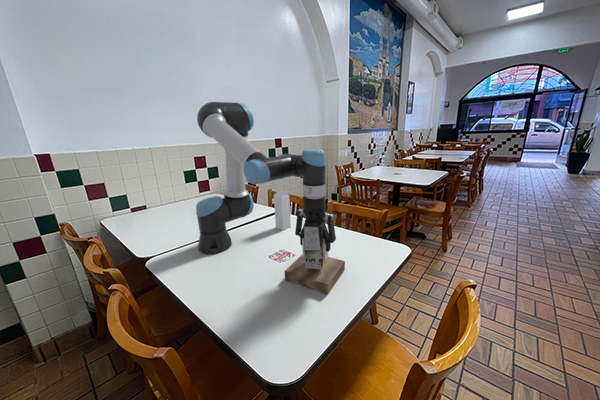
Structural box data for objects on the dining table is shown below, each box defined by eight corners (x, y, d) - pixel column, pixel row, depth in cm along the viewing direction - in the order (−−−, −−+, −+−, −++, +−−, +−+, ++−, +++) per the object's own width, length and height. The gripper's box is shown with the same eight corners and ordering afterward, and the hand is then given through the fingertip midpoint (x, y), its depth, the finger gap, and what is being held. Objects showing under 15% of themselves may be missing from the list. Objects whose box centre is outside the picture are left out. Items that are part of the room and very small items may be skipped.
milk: (283, 230, 131) (280, 191, 124) (275, 228, 135) (272, 189, 128) (291, 227, 135) (289, 189, 129) (283, 224, 139) (281, 187, 133)
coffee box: (322, 270, 85) (322, 227, 80) (304, 268, 86) (303, 226, 81) (325, 256, 93) (325, 217, 88) (308, 255, 94) (307, 216, 90)
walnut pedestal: (285, 280, 89) (284, 270, 88) (306, 259, 102) (305, 251, 101) (327, 294, 80) (327, 284, 79) (344, 270, 94) (344, 261, 92)
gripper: (282, 195, 84) (286, 254, 91) (338, 202, 74) (337, 268, 81) (294, 190, 90) (296, 245, 97) (347, 196, 80) (345, 257, 87)
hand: (315, 255), depth 89 cm, fingers closed on coffee box, 8 cm apart
